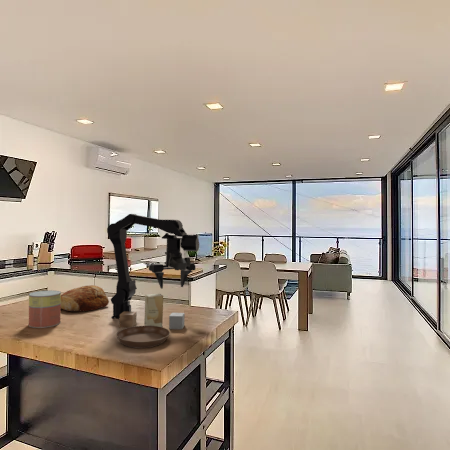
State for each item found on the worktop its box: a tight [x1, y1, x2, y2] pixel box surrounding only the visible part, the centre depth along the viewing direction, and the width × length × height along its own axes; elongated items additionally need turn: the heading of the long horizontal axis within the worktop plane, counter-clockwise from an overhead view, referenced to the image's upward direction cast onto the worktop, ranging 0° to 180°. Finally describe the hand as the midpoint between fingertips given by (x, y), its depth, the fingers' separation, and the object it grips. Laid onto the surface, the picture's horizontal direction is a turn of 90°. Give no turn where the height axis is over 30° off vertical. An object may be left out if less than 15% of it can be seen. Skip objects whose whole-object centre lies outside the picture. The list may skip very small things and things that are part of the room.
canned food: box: [27, 289, 62, 329], centre depth 142 cm, size 11×11×12 cm
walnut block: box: [119, 311, 137, 329], centre depth 140 cm, size 5×5×5 cm
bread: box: [61, 284, 110, 313], centre depth 169 cm, size 20×18×10 cm
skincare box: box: [143, 293, 164, 327], centre depth 139 cm, size 6×4×12 cm
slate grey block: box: [168, 312, 186, 330], centre depth 139 cm, size 5×5×5 cm
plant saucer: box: [115, 325, 171, 349], centre depth 123 cm, size 18×18×3 cm
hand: (171, 287), depth 150 cm, fingers open, 9 cm apart
